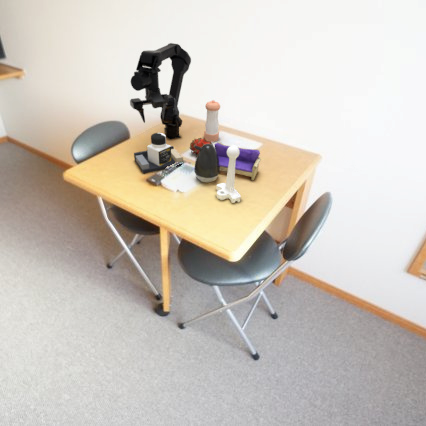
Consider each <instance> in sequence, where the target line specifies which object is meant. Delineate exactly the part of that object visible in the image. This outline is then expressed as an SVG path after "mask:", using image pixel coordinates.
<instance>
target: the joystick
mask: <svg viewBox="0 0 426 426" xmlns="http://www.w3.org/2000/svg"><path fill="white" fill-rule="evenodd" d="M229 146H230V147H229V148H228V149H227V155H228V157H229V165H228V172H227V171H226V172H227V174H226V178H225V179H226V180H225V182H221V183H217V184H216V198H217V199H218V200H219V201H220V200H221V201H224V200H227V199H229V200H230V202H231V203H232V204H235V203H240V202H241V197H242V196H241V194H240V193H239V192H238V190H237V189H235V180H236V173H235V162H236V158H237V157H238V156H239V153H240V151H239V148H240V147H239V146H237V145H229ZM238 147H239V148H238Z"/></svg>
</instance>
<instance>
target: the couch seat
mask: <svg viewBox="0 0 426 426" xmlns="http://www.w3.org/2000/svg"><path fill="white" fill-rule="evenodd" d="M170 146H171V161H170V162H168V163H165V164H163V165H161V166H158V165H156V164H154V163H152V162H150V161H148V151H147V150H142V151H138V152H133V159H134V162H135V164H136V165H137V167H138V168H139V170H140V171H141V173H142V174H143V175H144V174H149V173H154V172H159V171H165V170H166V169H165V168H166V167H167V166H170V165H172V164H174V163H175V162H180V161H182V162H184V157H183V155H182V154H181V153H179V152H178V150H177V149H176V148H175V147H174V145H170ZM181 165H182V164H179V165H177V166H176V167H175V168H178V167H182V166H181Z"/></svg>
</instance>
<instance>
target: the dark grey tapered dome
mask: <svg viewBox="0 0 426 426" xmlns="http://www.w3.org/2000/svg"><path fill="white" fill-rule="evenodd" d="M194 148H195V149H197V150H199V153H198V155H196V158H195V162H194V171H193V172H194V174H195V177H196V178H197V179H198V180H199V181H200V182H202V183H212V182H214V181H216V180H217V179H218V178H219V177H218V176H219V175H220V173H221V170H220V163H219V158H218V154H217V151H216V149H215V145H214V144H213V145H211V144H205V145H203V146H202V147H199V146H196V145H195V146H194Z"/></svg>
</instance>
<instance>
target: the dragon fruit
mask: <svg viewBox="0 0 426 426" xmlns="http://www.w3.org/2000/svg"><path fill="white" fill-rule="evenodd" d="M205 144H211V145H213V146H214V144H213V142H210V141H206V138H204V137H203V138H201V137H198V138H193V140H192V141H191V142H190V143H189V149H190V153H191V154H195V156H197V155H198V153H199V150H197V149H195V148H194V146H195V145H196V146H199V147H202V146H203V145H205Z"/></svg>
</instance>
